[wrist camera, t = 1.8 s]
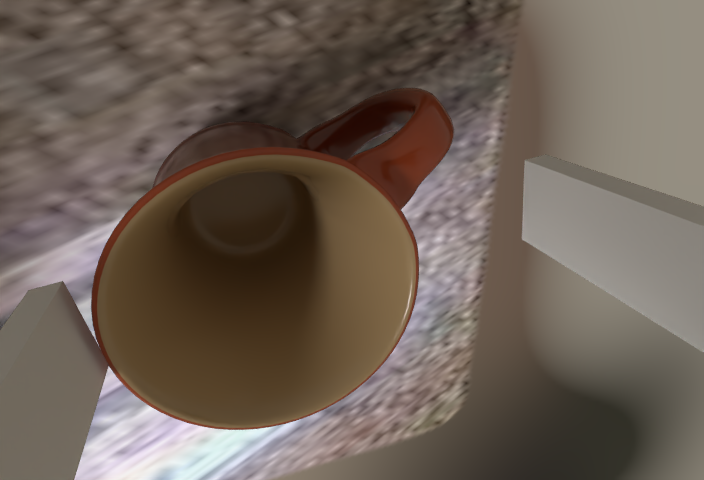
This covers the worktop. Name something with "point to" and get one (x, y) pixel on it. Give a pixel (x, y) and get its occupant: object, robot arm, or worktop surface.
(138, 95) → the worktop surface
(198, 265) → the mug
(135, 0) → the worktop surface
